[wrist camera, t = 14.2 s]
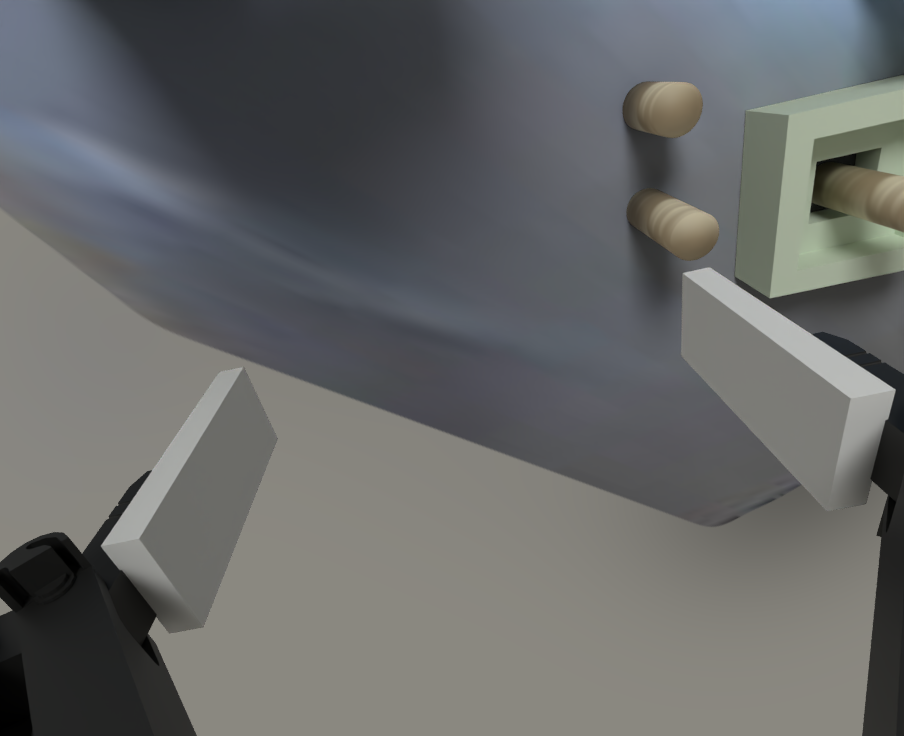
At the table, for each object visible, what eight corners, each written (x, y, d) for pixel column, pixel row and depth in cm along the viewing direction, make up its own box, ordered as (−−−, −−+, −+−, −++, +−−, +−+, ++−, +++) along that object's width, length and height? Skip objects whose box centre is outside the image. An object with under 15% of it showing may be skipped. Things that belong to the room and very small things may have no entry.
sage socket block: (745, 110, 41) (789, 115, 36) (927, 68, 40) (996, 68, 35) (734, 276, 48) (769, 298, 43) (889, 243, 47) (943, 262, 42)
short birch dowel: (621, 87, 40) (652, 88, 34) (665, 76, 39) (703, 76, 34) (623, 134, 41) (652, 143, 36) (665, 124, 41) (701, 131, 36)
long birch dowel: (806, 166, 43) (957, 201, 31) (847, 157, 43) (1015, 189, 31) (800, 207, 45) (942, 256, 33) (840, 198, 45) (997, 244, 33)
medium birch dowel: (625, 192, 44) (670, 218, 36) (666, 184, 43) (720, 207, 36) (627, 232, 45) (670, 265, 37) (666, 223, 45) (717, 254, 37)
